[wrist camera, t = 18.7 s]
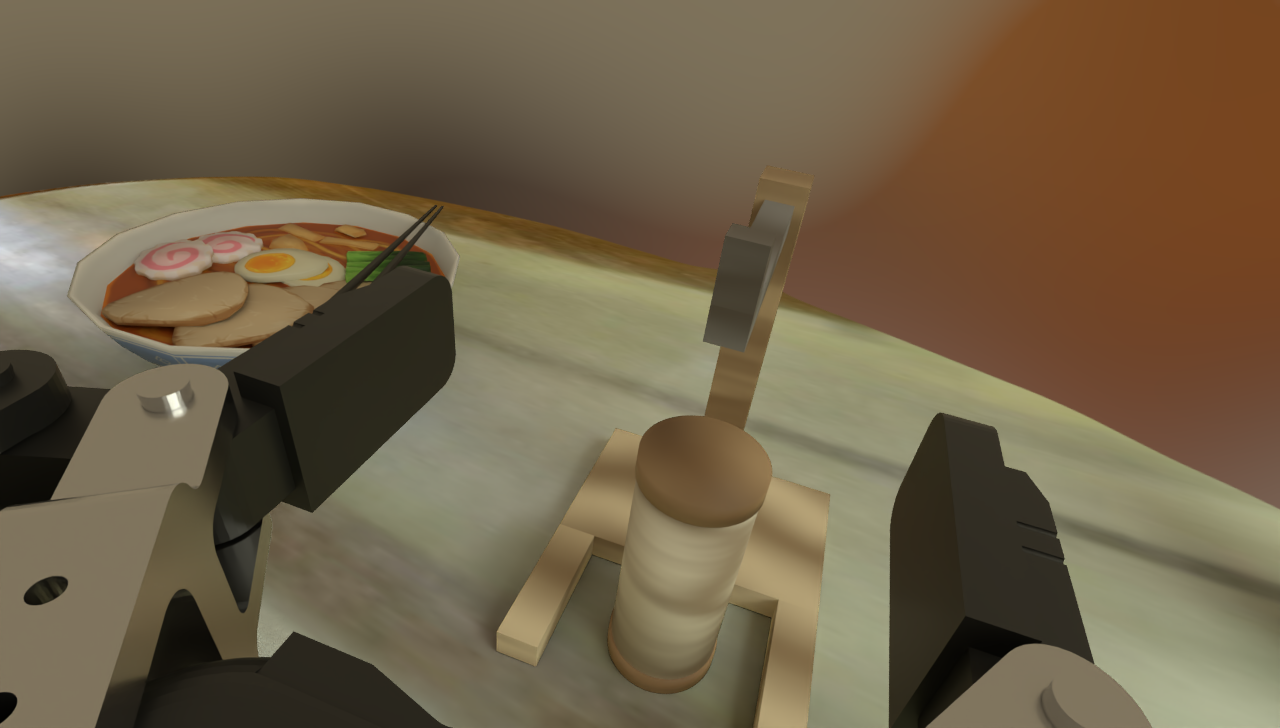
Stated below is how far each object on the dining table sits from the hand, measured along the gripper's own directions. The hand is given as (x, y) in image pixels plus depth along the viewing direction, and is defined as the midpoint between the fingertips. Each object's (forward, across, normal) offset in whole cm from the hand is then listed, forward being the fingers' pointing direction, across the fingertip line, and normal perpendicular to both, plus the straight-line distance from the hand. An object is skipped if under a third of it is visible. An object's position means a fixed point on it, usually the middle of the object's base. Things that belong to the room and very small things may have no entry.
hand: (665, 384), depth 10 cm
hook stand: (+15, 0, +23) cm, 27 cm away
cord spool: (+10, 0, +22) cm, 25 cm away
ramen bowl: (+22, +32, +23) cm, 45 cm away
